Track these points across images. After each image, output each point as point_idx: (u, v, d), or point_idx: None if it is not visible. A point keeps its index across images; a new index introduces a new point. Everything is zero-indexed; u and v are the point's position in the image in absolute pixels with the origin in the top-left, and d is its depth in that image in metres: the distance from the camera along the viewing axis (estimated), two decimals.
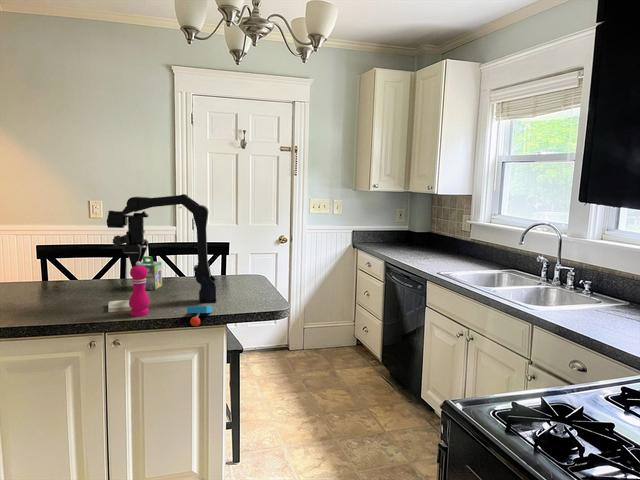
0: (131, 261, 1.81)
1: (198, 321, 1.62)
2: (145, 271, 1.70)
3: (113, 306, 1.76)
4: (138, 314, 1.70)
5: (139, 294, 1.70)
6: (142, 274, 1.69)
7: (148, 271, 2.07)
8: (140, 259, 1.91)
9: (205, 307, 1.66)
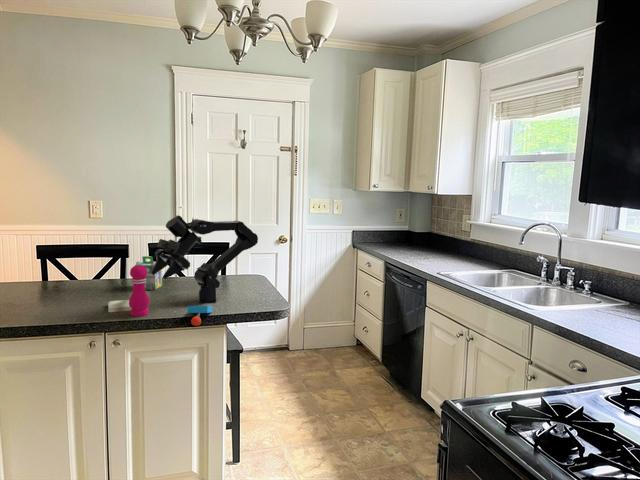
0: (169, 270, 1.74)
1: (199, 321, 1.62)
2: (145, 271, 1.70)
3: (113, 306, 1.76)
4: (138, 314, 1.70)
5: (139, 294, 1.70)
6: (142, 274, 1.69)
7: (148, 271, 2.07)
8: (157, 270, 1.81)
9: (206, 307, 1.66)
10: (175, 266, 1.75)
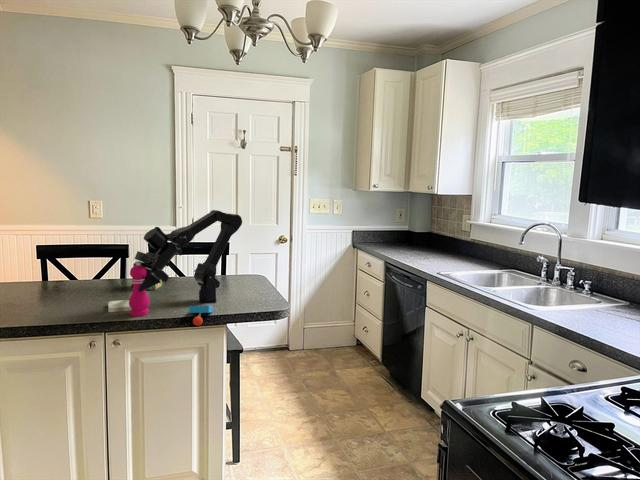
0: (145, 283, 1.69)
1: (201, 321, 1.62)
2: (145, 271, 1.70)
3: (113, 306, 1.76)
4: (138, 314, 1.70)
5: (139, 294, 1.70)
6: (142, 274, 1.69)
7: None
8: None
9: (207, 307, 1.66)
10: (151, 279, 1.71)
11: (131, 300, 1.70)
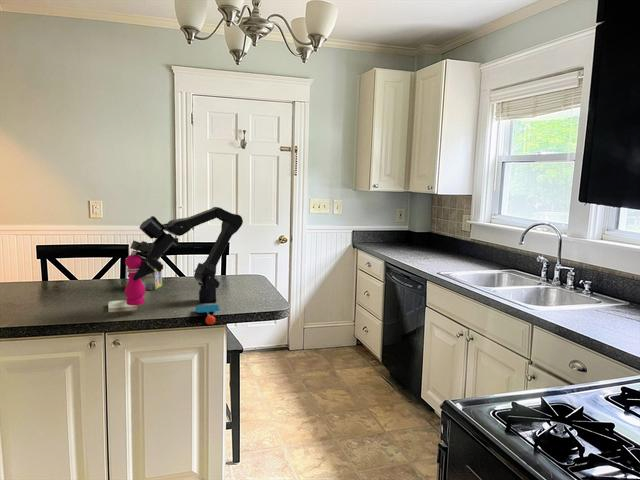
0: (139, 272, 1.70)
1: (214, 319, 1.64)
2: (140, 260, 1.71)
3: (113, 306, 1.76)
4: (133, 303, 1.71)
5: (134, 283, 1.71)
6: (137, 263, 1.70)
7: None
8: None
9: (217, 305, 1.68)
10: (146, 268, 1.71)
11: (126, 289, 1.71)
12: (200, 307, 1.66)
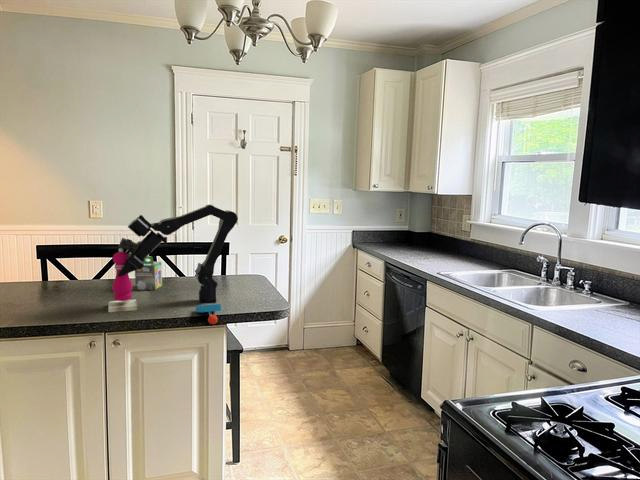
0: (123, 269, 1.75)
1: (216, 319, 1.65)
2: (125, 257, 1.76)
3: (113, 306, 1.76)
4: (118, 298, 1.77)
5: (119, 279, 1.77)
6: (121, 260, 1.75)
7: (148, 271, 2.07)
8: None
9: (219, 305, 1.69)
10: (130, 265, 1.76)
11: (113, 284, 1.77)
12: (202, 307, 1.67)
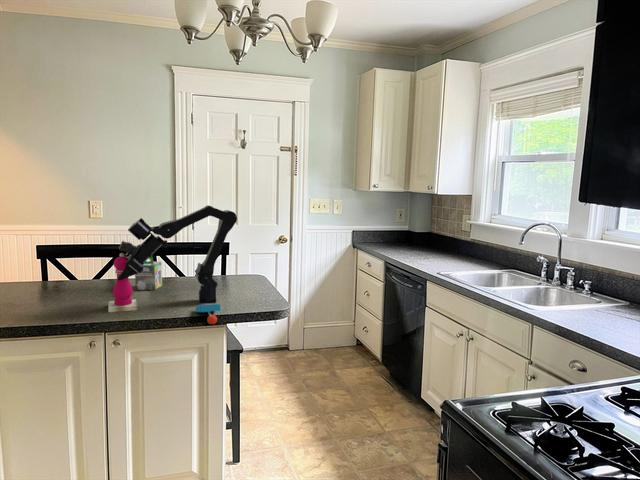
0: (123, 273, 1.74)
1: (216, 319, 1.65)
2: None
3: (113, 306, 1.76)
4: (118, 303, 1.77)
5: (120, 284, 1.77)
6: (122, 265, 1.76)
7: (148, 271, 2.07)
8: None
9: (219, 305, 1.69)
10: (130, 269, 1.75)
11: (113, 289, 1.78)
12: (202, 307, 1.67)
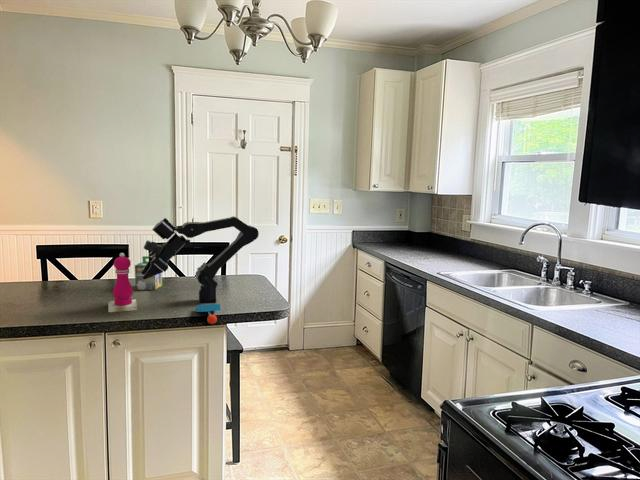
0: (148, 271, 1.77)
1: (216, 318, 1.65)
2: (126, 262, 1.77)
3: (113, 306, 1.76)
4: (118, 303, 1.77)
5: (120, 284, 1.77)
6: (122, 265, 1.76)
7: None
8: (147, 270, 1.87)
9: (218, 305, 1.69)
10: (155, 268, 1.78)
11: (113, 289, 1.78)
12: (201, 306, 1.67)
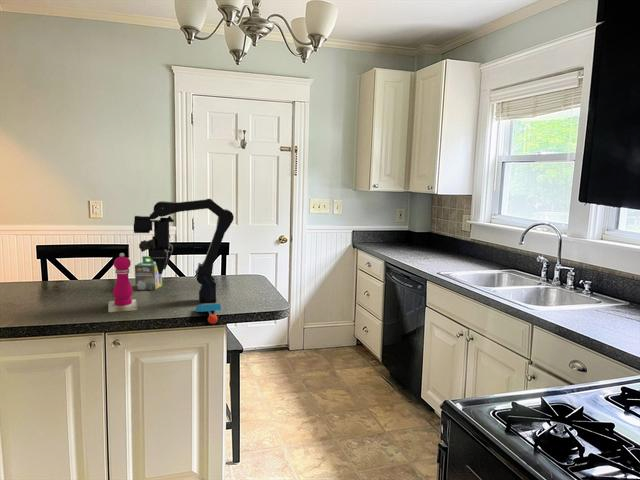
0: (158, 266, 1.81)
1: (216, 318, 1.66)
2: (126, 262, 1.77)
3: (113, 306, 1.76)
4: (118, 303, 1.77)
5: (120, 284, 1.77)
6: (122, 265, 1.76)
7: (148, 271, 2.07)
8: (165, 263, 1.92)
9: (219, 304, 1.70)
10: (160, 259, 1.81)
11: (113, 289, 1.78)
12: (202, 306, 1.67)
